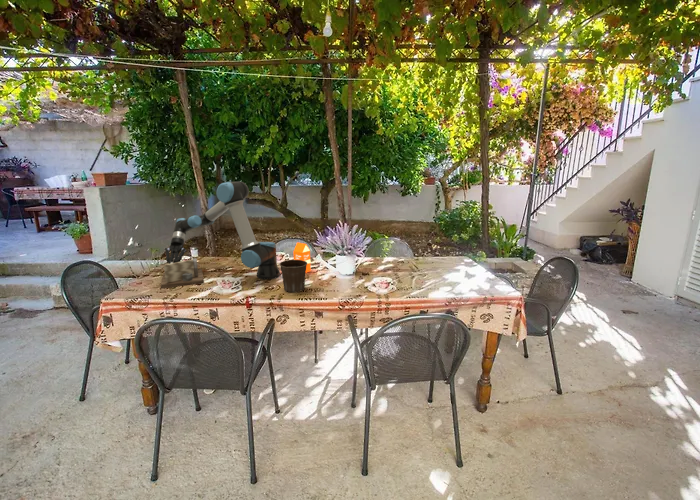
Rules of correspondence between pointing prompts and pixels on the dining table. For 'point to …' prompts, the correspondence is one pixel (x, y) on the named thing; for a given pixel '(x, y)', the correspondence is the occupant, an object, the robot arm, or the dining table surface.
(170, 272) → the leg panel
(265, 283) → the dining table surface
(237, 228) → the robot arm
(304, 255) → the orange juice
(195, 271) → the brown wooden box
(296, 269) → the plant pot
